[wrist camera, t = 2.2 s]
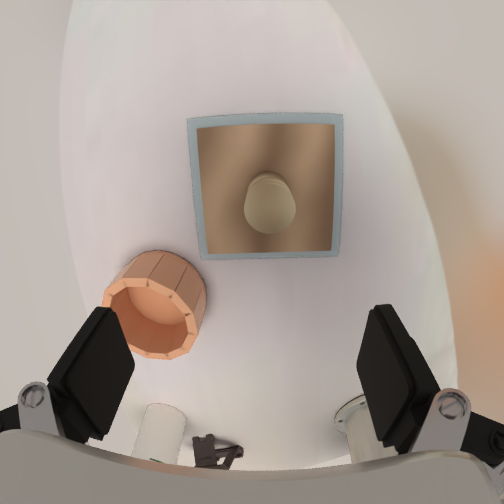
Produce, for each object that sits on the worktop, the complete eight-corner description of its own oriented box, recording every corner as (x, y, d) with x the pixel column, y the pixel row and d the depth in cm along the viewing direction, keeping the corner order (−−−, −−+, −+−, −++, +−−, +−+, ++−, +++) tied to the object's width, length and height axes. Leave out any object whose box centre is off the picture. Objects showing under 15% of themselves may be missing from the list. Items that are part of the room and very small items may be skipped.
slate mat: (341, 114, 24) (342, 114, 23) (337, 254, 29) (338, 256, 29) (188, 119, 24) (186, 119, 24) (201, 257, 30) (200, 260, 30)
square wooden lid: (332, 124, 24) (355, 124, 17) (329, 247, 28) (346, 281, 22) (198, 128, 24) (177, 129, 18) (209, 250, 29) (195, 285, 23)
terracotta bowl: (200, 249, 30) (187, 277, 24) (211, 326, 34) (203, 361, 28) (115, 251, 30) (90, 277, 25) (135, 323, 34) (118, 355, 29)
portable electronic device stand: (208, 454, 49) (203, 487, 42) (183, 438, 46) (176, 473, 39) (243, 448, 47) (241, 483, 39) (220, 431, 44) (215, 470, 37)
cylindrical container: (142, 400, 42) (101, 528, 19) (182, 406, 41) (152, 544, 19) (152, 422, 44) (120, 537, 22) (189, 427, 44) (166, 549, 22)
